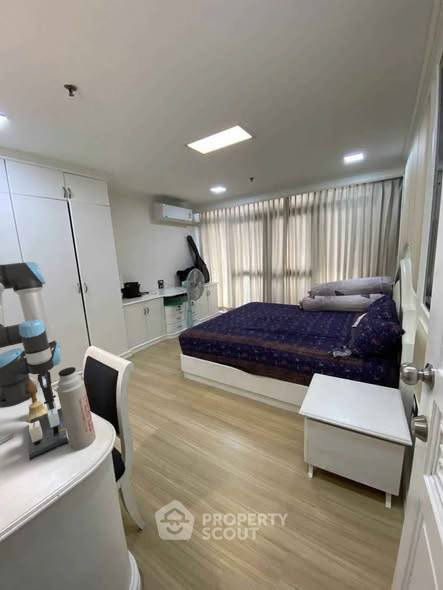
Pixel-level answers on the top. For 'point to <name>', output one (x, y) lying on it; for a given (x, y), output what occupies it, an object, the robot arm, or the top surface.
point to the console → (48, 436)
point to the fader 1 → (35, 431)
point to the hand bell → (35, 404)
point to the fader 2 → (53, 417)
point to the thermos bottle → (75, 409)
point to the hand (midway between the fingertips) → (53, 415)
